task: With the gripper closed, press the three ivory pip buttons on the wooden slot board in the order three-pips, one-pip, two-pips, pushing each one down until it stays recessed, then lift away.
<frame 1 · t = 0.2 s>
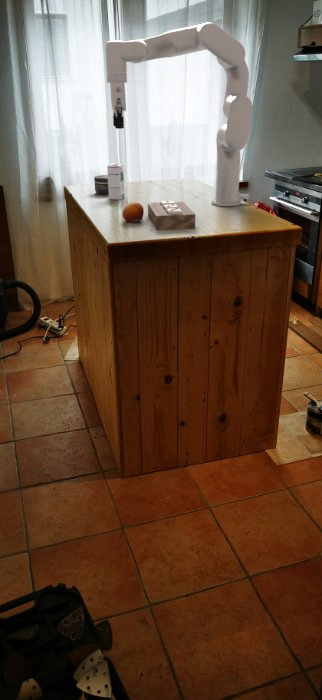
hand: (118, 127, 217), 31 cm above the table, tool pointing down, fingers open, 9 cm apart
button 3: (174, 212, 200), point 5 cm above the table, slide at 0.0 cm
button 1: (167, 204, 213), point 5 cm above the table, slide at 0.0 cm
jar: (105, 193, 259), on the table
wooden slot board: (170, 221, 209), on the table
fruit: (133, 221, 210), on the table
syrup box: (116, 198, 249), on the table
button 2: (170, 208, 206), point 5 cm above the table, slide at 0.0 cm
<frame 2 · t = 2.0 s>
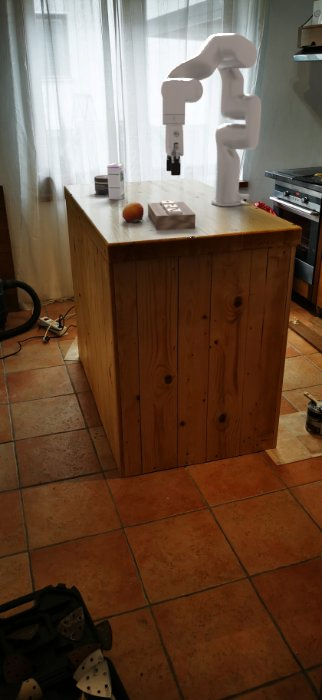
hand: (173, 173, 195), 19 cm above the table, tool pointing down, fingers open, 9 cm apart
nothing on the table moved.
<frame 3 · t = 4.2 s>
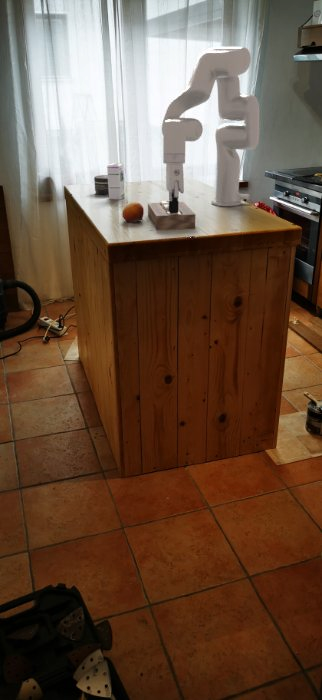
hand: (173, 212, 200), 5 cm above the table, tool pointing down, fingers closed
button 3: (174, 215, 201), point 4 cm above the table, slide at 1.1 cm, touching gripper
everything else where it was.
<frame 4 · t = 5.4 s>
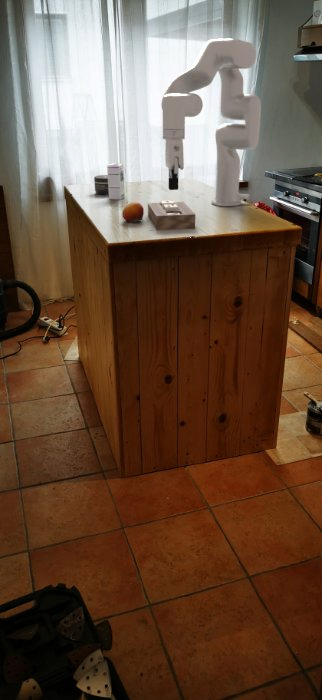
hand: (173, 189, 198), 13 cm above the table, tool pointing down, fingers closed
button 3: (173, 216, 201), point 3 cm above the table, slide at 1.6 cm
everything else where it was.
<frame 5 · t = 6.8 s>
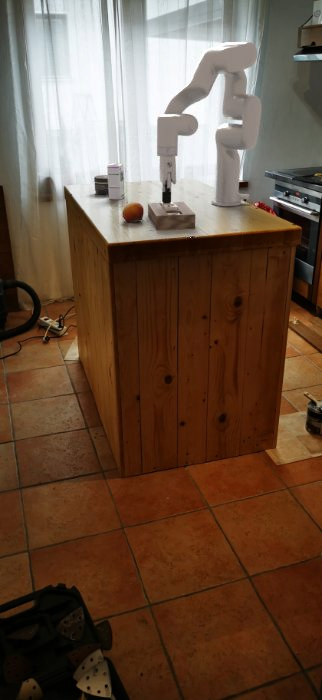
hand: (166, 202, 212), 6 cm above the table, tool pointing down, fingers closed
button 1: (167, 205, 213), point 5 cm above the table, slide at 0.4 cm, touching gripper
everything else where it was.
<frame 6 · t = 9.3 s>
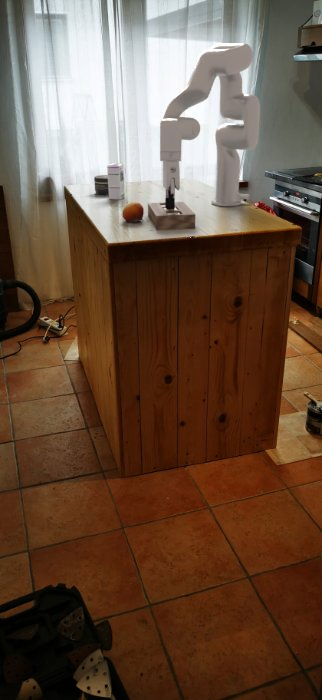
hand: (169, 208, 206), 5 cm above the table, tool pointing down, fingers closed
button 1: (167, 208, 213), point 3 cm above the table, slide at 1.6 cm
button 2: (170, 211, 207), point 4 cm above the table, slide at 1.2 cm, touching gripper
everything else where it was.
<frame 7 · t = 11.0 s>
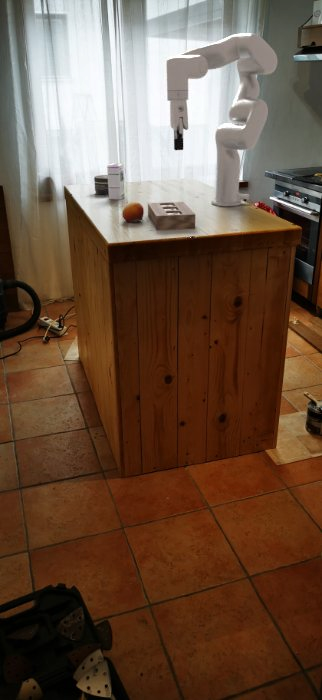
hand: (178, 149, 208), 24 cm above the table, tool pointing down, fingers closed
button 2: (170, 212, 207), point 3 cm above the table, slide at 1.6 cm
everything else where it was.
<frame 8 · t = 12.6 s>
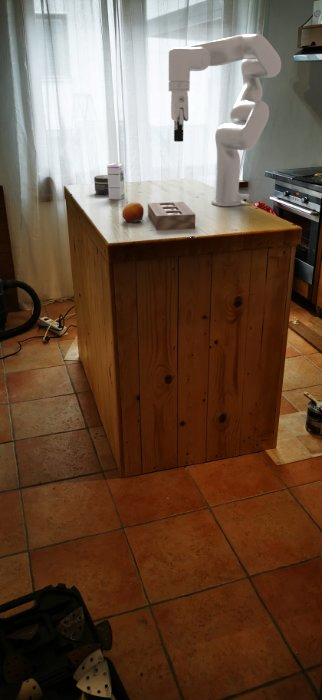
hand: (178, 141, 208), 27 cm above the table, tool pointing down, fingers closed
nothing on the table moved.
at the end: button 3 slide at 1.6 cm; button 1 slide at 1.6 cm; button 2 slide at 1.6 cm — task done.
